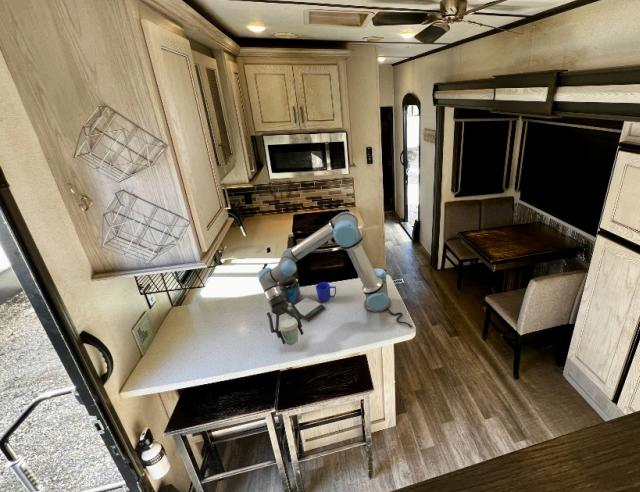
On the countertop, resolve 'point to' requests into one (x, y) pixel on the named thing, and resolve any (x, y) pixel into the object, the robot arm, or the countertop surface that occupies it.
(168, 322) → the countertop surface
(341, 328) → the countertop surface
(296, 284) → the container
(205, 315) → the countertop surface
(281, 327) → the coffee cup
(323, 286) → the mug
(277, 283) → the robot arm
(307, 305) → the scale
